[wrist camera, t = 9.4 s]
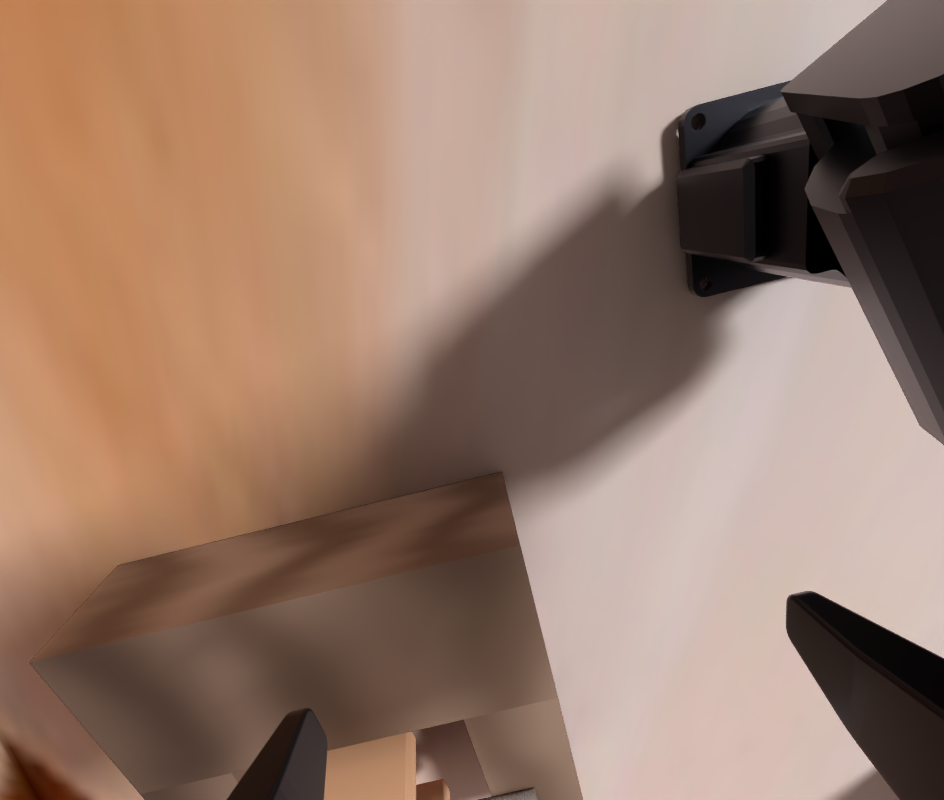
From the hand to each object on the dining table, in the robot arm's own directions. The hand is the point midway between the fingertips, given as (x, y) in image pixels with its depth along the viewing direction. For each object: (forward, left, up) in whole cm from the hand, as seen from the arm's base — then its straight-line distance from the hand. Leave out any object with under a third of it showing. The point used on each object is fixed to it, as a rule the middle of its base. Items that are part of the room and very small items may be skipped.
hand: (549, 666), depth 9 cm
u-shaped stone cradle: (+9, +13, -12) cm, 20 cm away
